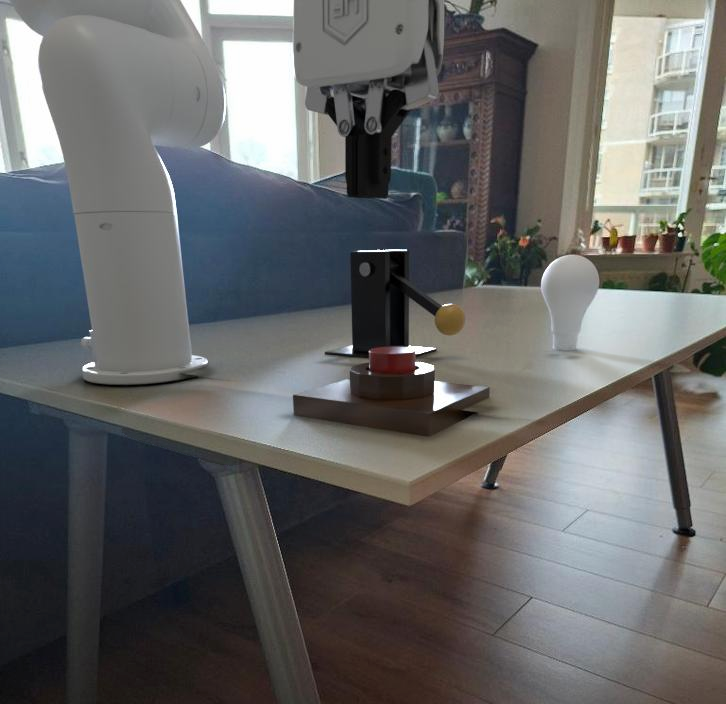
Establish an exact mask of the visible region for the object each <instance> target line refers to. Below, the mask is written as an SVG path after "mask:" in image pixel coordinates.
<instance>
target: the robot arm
mask: <svg viewBox="0 0 726 704" xmlns="http://www.w3.org/2000/svg"><path fill="white" fill-rule="evenodd" d="M9 3H10V4H11V5H12V7H13V9H14V10H15V12H16V13H17V14H18V16H19V17H20V19H21V20H22V21H23V23H24V24H25V25H26V26H27V27H28V28H29V29H30V30H32V31H33V32H35V34H38V35H39V36H42V39H41V42H40V45H39V50H38V59H37V63H38V66H37V67H38V75H39V80H40V84H41V90H42V92H43V96H44V98H45V102H46V105H47V108H48V111H49V114H50V117H51V120H52V123H53V125H54V128H55V131H56V135H57V138H58V142H59V145H60V149H61V153H62V158H63V162H64V166H65V171H66V177H67V182H68V183H67V184H68V187H69V193H70V199H71V200H70V201H71V206H72V207H71V208H72V212H73V216H74V223H75V229H76V230H75V231H76V236H77V243H78V248H79V257H80V261H81V262H80V263H81V268H82V269H81V270H82V275H83V281H84V288H85V293H86V300H87V307H88V313H89V320H90V326H91V330H88V333H89V336H85V337H83V338H81V339H80V346H81V348H82V349H83V350H85V351H91V352H92V359H93V362H90V363H87V364H85V365H84V366H82V368H81V374H82V375H81V376H82V379H83V380H85V381H86V382H89V383H92V384H98V385H108V386H109V385H114V386H118V385H119V386H125V385H126V386H128V385H129V386H131V385H133V386H134V385H149V384H151V385H152V384H159V383H161V384H162V383H169V382H175V381H182V380H186V379H191V378H194V377H198V375H197V374H196V375H195V374H188V372H192V371H196V370H199V369H202V368H204V367H206V366H207V365H208V359H207V358H205V357H203V356H201V355H194V354H193V352H192V344H191V334H190V327H189V326H190V325H189V314H188V306H187V305H188V304H187V296H186V287H185V278H184V269H183V259H182V258H183V257H182V249H181V240H180V230H179V222H178V221H179V220H178V213H177V205H176V197H175V191H174V187H173V184H172V180H171V177H170V175H169V172H168V170H167V167H166V166H165V163H164V162H163V159H162V158H161V156H160V154H159V152H158V150H157V149H156V146H157V147H165V148H172V149H184V150H185V149H186V150H188V149H189V150H190V149H198V148H201V147H203V146H206V145H208V144H209V143H211V142H212V141H213V140H215V138H216V137H217V136H218V134H219V133H220V131H221V129H222V127H223V123H224V121H225V118H226V117H225V116H226V107H227V103H226V101H227V100H226V92H225V85H224V83H223V78H222V76H221V73H220V70H219V68H218V65H217V63H216V61H215V59H214V57H213V55H212V53H211V51H210V50H209V48H208V46H207V44H206V42H205V41H204V39H203V37H202V35H201V34H200V32H199V30H198V29H197V27H196V25H195V23H194V21H193V20H192V18H191V16H190V15H189V13H188V10H187V9H186V8H185V6H184V3H183V2H182V0H9ZM292 14H293V15H292V16H293V17H292V67H293V68H292V69H293V76H294V79H295V81H296V82H297V83H298V84H299V85H301V86H303V87H306V95H305V100H304V105H305V108H306V110H308V111H310V112H314V113H318V114H322V115H326V116H329V118H330V120H332V122H333V123H334V124H335V126H336V128H337V133H338V134H339V136H341V137H342V138H343V137H344V138H345V140H344V141H345V142H344V146H345V147H344V148H345V153H344V157H345V158H344V163H345V164H344V169H345V170H344V171H345V172H344V174H345V176H344V177H345V183H346V195H347V197H348V198H352V199H353V198H354V199H367V200H368V199H369V200H370V199H387V198H388V196H389V185H390V183H391V178H392V177H391V176H392V139H396V137H397V136H398V135H399V133H400V129H401V125H402V124H403V122H404V121H405V120H406V119H407V117H408V115H409V114H410V113H411V111H412V110H413V109H416V108H417V109H418V108H419V107H422V106H424V105H426V104H428V103H431V102H433V101H435V100H437V98H438V97H439V94H440V87H439V81H438V80H439V79H438V76H439V75H440V73H441V70H442V67H443V66H442V64H443V57H444V47H445V46H444V45H445V0H293V13H292Z"/></svg>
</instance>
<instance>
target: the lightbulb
mask: <svg viewBox="0 0 726 704" xmlns="http://www.w3.org/2000/svg"><path fill="white" fill-rule="evenodd" d="M540 281H541V282H540V290H541V294H542V297H543V300H544V302H545V304H546V307H547V309H548V312H549V316H550V324H551V327H550V328H551V329H550V330H551V333H552V350H554V351H564V352H565V351H566V352H567V351H568V352H569V351H575V350H576V349H577V345H578V344H577V343H578V337H579V334H580V333H581V331H582V330H581V329H582V323H583V321H584V317H585V315H586V313H587V310H588V308H589V307H590V306H591V304H592V303H593V301H594V299H595V297H596V295H597V294H598V291H599V287H600V275H599V272H598V269H597V267H596V266H595V264H594V263H593V262H592V261H591V260H590V259H588V258H586V257H584V256H583V255H580V254H567V255H563V256H560V257H557V258H556V259H554V261H552V262H551V263H550V264H549V265H548V266H547V268H546V269H545V271H543V275H542V277H541V280H540Z"/></svg>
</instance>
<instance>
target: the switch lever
mask: <svg viewBox="0 0 726 704" xmlns="http://www.w3.org/2000/svg"><path fill="white" fill-rule="evenodd" d="M398 267H399V264H398V263H396V262H395V261H394V260H392V259H391V258H390V284H392V285H393V286H395V287H396V288H397V289H399V290H400V291H401V292H403V293H404V294H405V295H407V296H408V297H409V299H411V300H412V301H413V302H414V303H416V304H417V305H419V306H420V307H422V308H423V309H424V310H425V311H427V312H428V313H430V314H431V315H432V316H433V317H434V325H435V328H436V330H437V331H438V332H439V333H440V334H441V335H445V336H455V335H457V334H459V333H460V332H461V331H463V329H464V327H465V326H466V320H467V319H466V313H465V312H464V310H463V309H462V307H460V305H457V304H455V303H447V304H444V305H441V304H440V303H439V302H437V301H436V300H435V299H433V298H432V297H431V296H429V295H428V294H427V293H425V292H423V291H422V290H421V289H419V288H418V287H417V286H416V285H414V284H412V283H411V282H410V281H409V282H408V281H407V280H406V279H404V278H403V277H402V276H400V275H399V274H398V273H396V271H397V269H398Z"/></svg>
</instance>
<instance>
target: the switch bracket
mask: <svg viewBox="0 0 726 704" xmlns="http://www.w3.org/2000/svg"><path fill="white" fill-rule="evenodd" d="M390 258H391V259H392V260H394V261H395V262H396V263H398V264H399V267H398V269H397V271H396V273H398V274H399V275H400V276H402V277H403V278H404V279H406V280H407V281H408V282H410V249H385V250H384V249H383V250H380V249H377V250H351V251H349V261H350V262H349V263H350V303H351V306H350V307H351V341H352V343H351V345H349V346H344V347H340V348H336V349H331V350H325V351H324V355H326V356H337V357H346V358H347V357H348V358H357V359H358V358H359V359H366V360H367V359H368V360H369V350H370V349H373V348H379V347H409V348H413V349H415V350H416V358H418V357H421V356H425V355H429V354H431V353H435V352H437V351H438V349H437V348H436V347H423V346H411V345H410V298H409V297H408V296H407V295H405V294H404V293H403V292H401V291H400V290H399V289H397V288H396V287H395V286H393V285H392V284H390Z"/></svg>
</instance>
